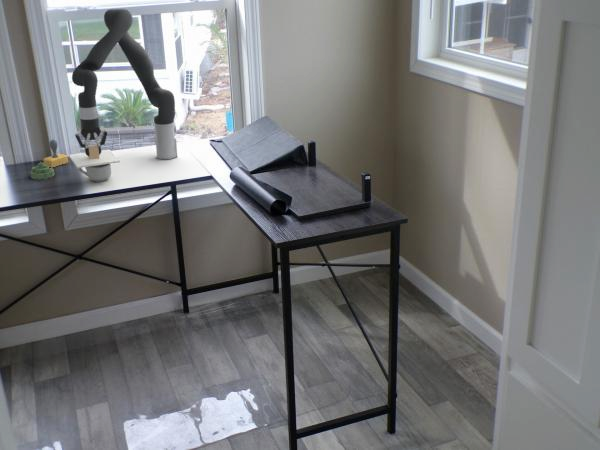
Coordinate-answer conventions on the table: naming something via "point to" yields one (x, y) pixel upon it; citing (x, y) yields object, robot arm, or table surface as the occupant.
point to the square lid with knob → (93, 157)
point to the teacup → (98, 172)
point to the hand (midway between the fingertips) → (93, 154)
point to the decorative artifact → (42, 171)
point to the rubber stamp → (55, 156)
